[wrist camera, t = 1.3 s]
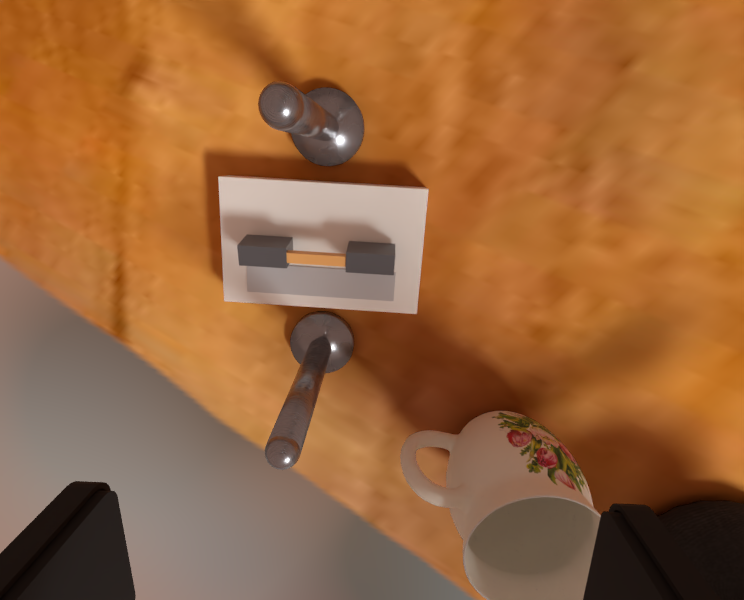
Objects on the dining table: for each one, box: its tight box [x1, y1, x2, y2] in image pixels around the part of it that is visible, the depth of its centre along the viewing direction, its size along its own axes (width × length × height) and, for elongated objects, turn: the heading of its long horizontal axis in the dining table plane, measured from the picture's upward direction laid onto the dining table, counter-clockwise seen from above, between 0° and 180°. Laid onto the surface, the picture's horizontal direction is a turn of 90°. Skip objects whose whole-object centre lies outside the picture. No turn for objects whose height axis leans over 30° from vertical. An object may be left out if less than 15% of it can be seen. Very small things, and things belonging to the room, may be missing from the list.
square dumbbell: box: [237, 234, 395, 275], centre depth 34 cm, size 2×12×2 cm, turn 87°
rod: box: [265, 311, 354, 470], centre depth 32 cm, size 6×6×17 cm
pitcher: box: [400, 411, 601, 600], centre depth 36 cm, size 11×18×14 cm, turn 69°
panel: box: [218, 175, 428, 314], centre depth 36 cm, size 10×16×3 cm, turn 87°
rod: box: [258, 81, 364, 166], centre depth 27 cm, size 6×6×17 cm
